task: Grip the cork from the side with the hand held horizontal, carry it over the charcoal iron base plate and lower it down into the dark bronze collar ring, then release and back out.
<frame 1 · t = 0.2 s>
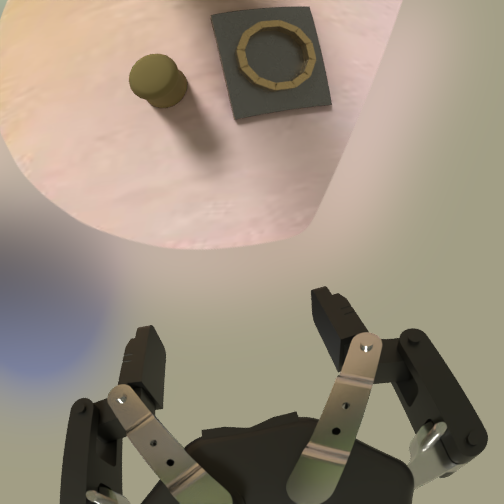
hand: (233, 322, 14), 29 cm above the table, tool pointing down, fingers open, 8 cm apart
collar plate: (272, 58, 32), on the table
cork: (165, 87, 32), on the table
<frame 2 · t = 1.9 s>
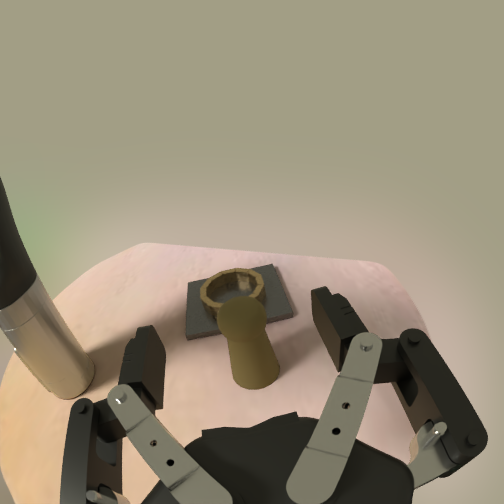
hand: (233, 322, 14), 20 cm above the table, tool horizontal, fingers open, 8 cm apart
collar plate: (235, 300, 47), on the table
cork: (256, 371, 34), on the table
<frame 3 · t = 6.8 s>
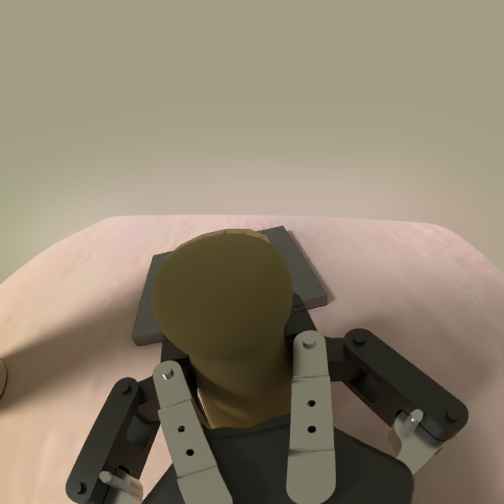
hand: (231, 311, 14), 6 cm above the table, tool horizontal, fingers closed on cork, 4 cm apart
collar plate: (222, 280, 28), on the table
cork: (260, 413, 15), on the table, touching gripper
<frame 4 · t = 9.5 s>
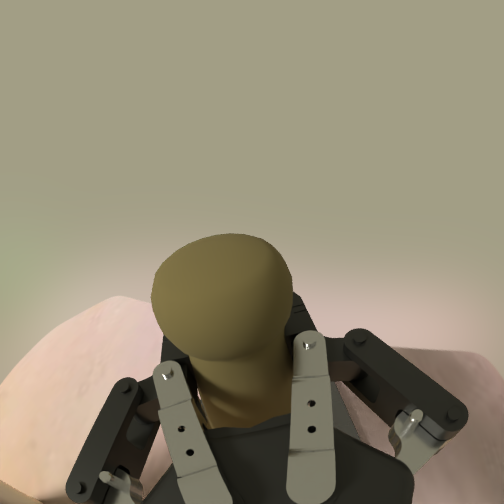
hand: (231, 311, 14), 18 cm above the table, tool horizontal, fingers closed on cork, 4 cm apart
collar plate: (271, 447, 22), on the table
cork: (260, 414, 15), point 12 cm above the table, touching gripper
when the fingers open (8 cm above the table, at t = 12.5 s): cork stays where it is, resting on collar plate.
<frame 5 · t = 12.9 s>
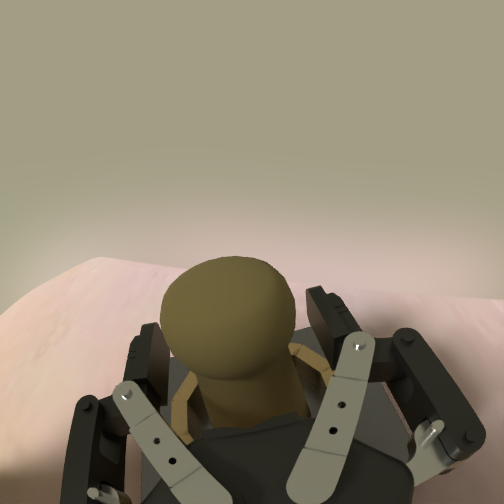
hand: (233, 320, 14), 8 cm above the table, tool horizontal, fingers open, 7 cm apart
collar plate: (263, 425, 16), on the table
cork: (262, 422, 15), point 1 cm above the table, touching collar plate
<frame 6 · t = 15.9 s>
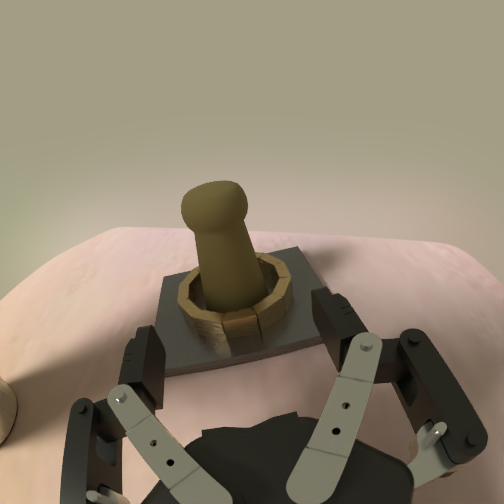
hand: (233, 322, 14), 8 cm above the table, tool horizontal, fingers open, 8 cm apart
collar plate: (238, 306, 27), on the table
cork: (237, 301, 27), point 1 cm above the table, touching collar plate
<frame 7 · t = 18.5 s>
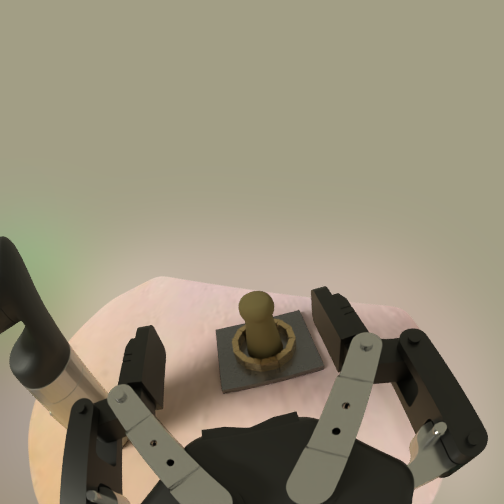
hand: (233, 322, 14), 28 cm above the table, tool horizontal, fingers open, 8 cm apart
collar plate: (265, 351, 47), on the table
cork: (265, 348, 46), point 1 cm above the table, touching collar plate
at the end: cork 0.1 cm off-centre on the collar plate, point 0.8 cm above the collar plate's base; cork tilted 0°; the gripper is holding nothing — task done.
